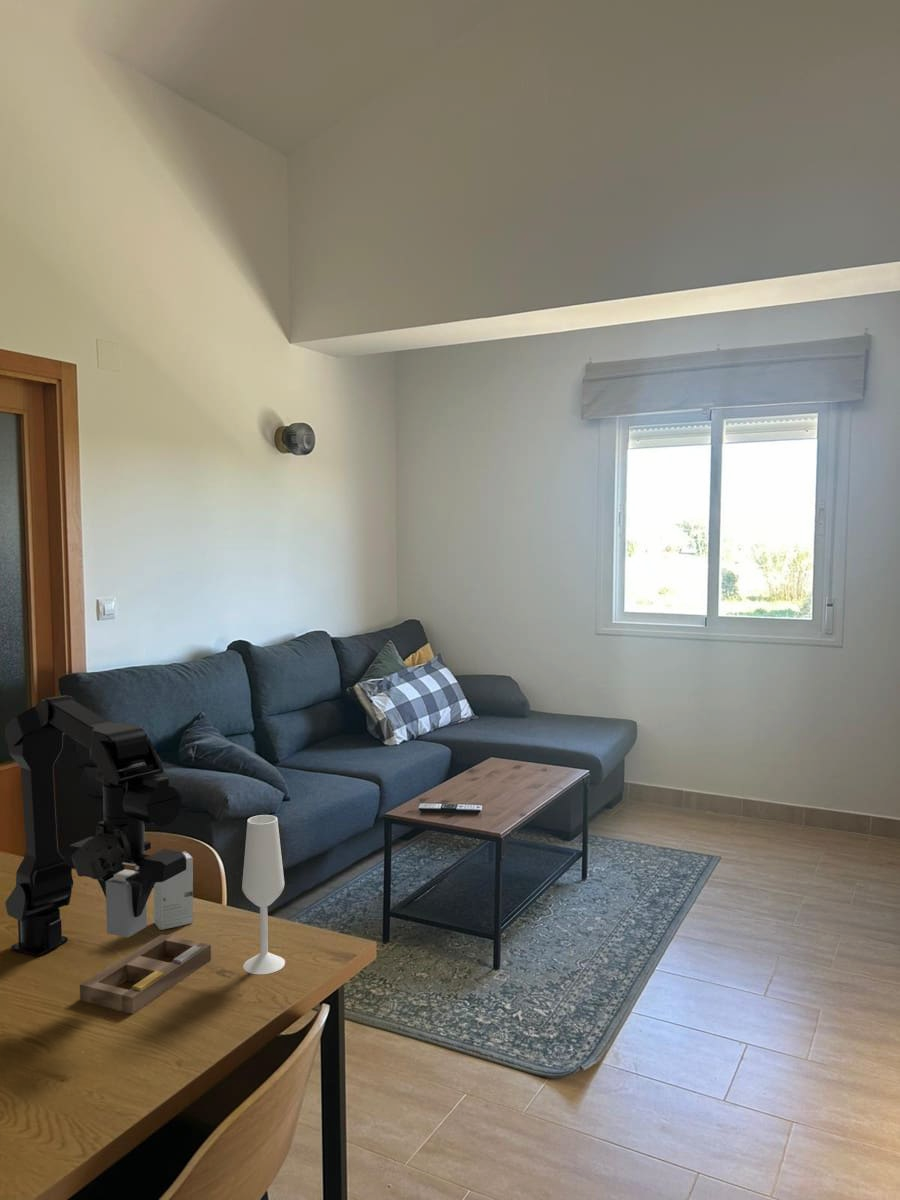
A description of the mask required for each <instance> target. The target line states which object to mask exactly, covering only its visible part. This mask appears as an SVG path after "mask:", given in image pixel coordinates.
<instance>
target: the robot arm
mask: <svg viewBox="0 0 900 1200" xmlns="http://www.w3.org/2000/svg"><path fill="white" fill-rule="evenodd" d="M64 735H67V736H68V737H70V738H72V739H73V740H75V741H76V742H78V743H79V744H81V745H83V746H85V747H86V748H87V749H88V750H89V759H90V760H91V761H92V763H94V764H95V765H96V766H97V767H98V768H99V769H100V771H99V772H98V773H97V774H96V775H95V780H97V781H100V782H102V796H103V798H102V801H103V802H102V804H103V805H102V807H103V809H102V810H103V820H102V821H99V822H97V826H96V828H95V829H96V831H95V836H89V837H86V838H84V839H82V840H79V841H77V842H76V841H75V842H74V843H71V844H70V845H68V847H67V849H66V850H65V852H64V856H63V855H62V854H61V853H60V851H59V845H58V831H57V830H58V829H57V828H58V826H57V824H58V823H57V809H56V806H57V805H56V793H55V792H56V791H55V789H56V788H55V774H54V765H55V763H56V762H57V760H58V758H59V756H60V754H61V753H62V750H63V747H64ZM4 737H5V741H6V744H7V747H8V753H9V756H10V757H11V758H12V759H13V760H14V762H15V763H16V764H17V766H18V767H19V769H20V774H21V790H22V791H21V794H22V807H23V824H24V825H23V826H24V827H23V828H24V841H25V842H24V843H25V855H24V857H23V858H22V861H21V862H20V864H19V866H18V868H17V870H16V873H15V874H16V875H15V878H16V879H15V887H14V888H13V890H12V891H11V893H10V894H9V896H8V897H7V899H6V900H5V903H4V904H5V910H6V912H7V916H10V917H11V918H13V919H15V920H17V935H18V937H17V939H18V941H17V943H14V944H13V945H12V944H11V946H10V950H11V951H14V952H15V951H16V952H19V953H23V954H28V955H33V956H37V957H38V956H39V957H40V956H41V955H43V954H45V953H48V952H50V951H51V950H53V949H54V948H57V947H59V946H60V945H62V944H64V943H66V942H68V940H69V937H68V936H64V935H63V934H62V933H63V932H62V928H63V927H62V918H61V909H60V908H62V907H66V906H67V907H68V906H70V902H71V898H72V892H73V887H74V879H73V875H72V874H73V873H72V871H73V867H74V869H75V872H76V874H77V876H78V877H80V878H82V877H86V878H91V879H93V880H96V881H97V882H98V884H99V887H100V888H101V890H102V892H103V895H104V897H105V898H106V881H107V880H109V879H111V878H113V877H114V874H116V873H118V872H120V871H123V870H125V867H126V866H130V867H135V870H134V871H135V874H134V875H132V876H130V877H128V878H126V879H125V880H126V881H127V882H128V883H129V884H130V885H131V886H132V902H133V912H134V917H138V916H140V915H141V914H142V911H143V909H144V907H145V905H146V906H147V902H148V900H149V899H150V896H151V893H152V891H153V890H154V885H155V883H156V882H164V881H166V880H168V879H170V878H171V877H173V876H175V875H177V874H179V873H181V872H183V871H185V870H186V856H185V855H184V854H183V853H182V852H183V851H177V850H173V849H172V850H171V849H166V848H163V849H161V850H158V851H157V852H154V853H152V854H150V855H149V854H145V852H146V851H148V850H150V849H151V847H152V846H151V845H152V844H151V843H152V842H151V841H148V840H147V841H146V839H145V835H146V834H145V825H147V824H150V825H152V826H156V827H165V826H167V825H170V824H172V822H174V820H175V819H176V818H177V817H178V816H179V814H180V811H181V808H182V798H181V796H180V793H179V791H178V789H176V788H175V787H173V786H170V782H169V781H170V780H169V777H168V776H158V775H162V774H164V768H163V766H162V764H161V763H162V760H161V758H160V756H159V755H158V753H157V751H156V749H155V748H154V745H153V743H152V740H151V738H150V736H149V735H148V733H147V732H146V730H145V729H143V728H142V727H140V726H136V725H133V724H129V723H118V722H116V723H115V722H111V721H109V720H107V719H105V718H104V717H103V716H100V715H99V714H97V713H96V712H94V711H92V710H91V709H89V708H87V707H86V706H84V705H82V704H81V703H78V701H76V699H75V697H73V696H71V695H70V696H69V695H59V696H52V697H46V698H43V699H42V700H39V701H38V702H37V703H36V704H35V705H34V706H33V707H30V708H29V709H27V710H25V711H23V712H22V713H20V714H17V715H16V716H15V717H13V718H12V719H11V720H10V722H9V723H8V724H7V725H6V727H5V730H4Z"/></svg>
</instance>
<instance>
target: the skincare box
mask: <svg viewBox="0 0 900 1200" xmlns="http://www.w3.org/2000/svg"><path fill="white" fill-rule="evenodd" d="M181 852H182V853H183V854H184V855H185V856H186V870H185V871H183V872H181V873H179V874H177V875H175V876H173V877H171V878H170V879H168V880H166V881H164V882H156V883H155V885H154V887H153V912H154V913H153V922H154V923H155V925H156V927H157V928H158V930H159V931H161V930H162V931H163V930H167V929H171V928H177V927H182V926H185V925H186V926H187V925H190V924H192V923H193V922H194V896H193V895H194V894H193V893H194V887H193V886H194V883H193V882H194V878H193V876H194V875H193V873H194V872H193V871H194V866H193V865H194V863H193V862H194V859H193V858H194V857H192V856H191V855H190V854H189V853H188V852H187V851H181Z"/></svg>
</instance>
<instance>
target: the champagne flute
mask: <svg viewBox="0 0 900 1200" xmlns="http://www.w3.org/2000/svg"><path fill="white" fill-rule="evenodd" d="M278 820H279V819H278V817H277V816H275V815H271V814H260V815H255V816H251V817H249V818H248V819H247V821H246V834H245V835H246V837H245V847H244V858H243V859H244V860H243V861H244V862H243V870H242V871H243V872H242V884H241V885H242V886H241V890H242V892H243V894H244V895H245V897H246V898H247V900H249V901H250V902H251V903H253V904H254V905H255V906H257V907H258V908H259V930H260V931H259V934H260V936H259V938H260V947H259V948H260V950H259V951H260V953H257V954H256V955H254V956H252V957H251V958H249V959H247V960H246V961H244V963H243V967H242V968H243V970H244V971H245V972H247V973H248V974H253V975H267V974H268V975H270V974H272V973H275V972H278V971H280V970H281V969H283V968H284V967H285V964H286V960H285V959H284V958H283V957H281V956H280V955H277V954H273V953H272V952H269V947H268V946H269V943H268V942H269V941H268V939H269V936H268V935H269V934H268V933H269V932H268V930H269V929H268V907H269V906H271V905H272V904H273V903H274V902H275V901H276V900H277V899H278V898H279V897H280V896H281V894H282V893H283V891H284V888H285V877H284V869H283V867H284V866H283V858H282V849H281V848H282V847H281V840H280V831H279V821H278Z"/></svg>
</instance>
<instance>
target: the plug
mask: <svg viewBox="0 0 900 1200" xmlns="http://www.w3.org/2000/svg"><path fill="white" fill-rule="evenodd" d="M134 874H135V870H132V869H128V868H127V869H125V868H124V870H123V871H120V872H118V873H116V874H114V877H113V878H111V879H109V880H107V881H106V897H105V902H106V903H105V909H106V912H105V913H106V933H107V934H111V935H114V936H119V937H123V938H130V937H131V936H134V935H135V934H137V933H138V932H140V931H141V930H143V929H146V928H147V926H148V925H147V921H148V919H147V904H146V905H145V907H144V909H143V911H142V914H141V915H140V916H138V917H134V912H133V902H132V886H131V885H130V884H129V883H128V882H127V881H126V880H125V879H126V878H128V877H130V876H132V875H134Z"/></svg>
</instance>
